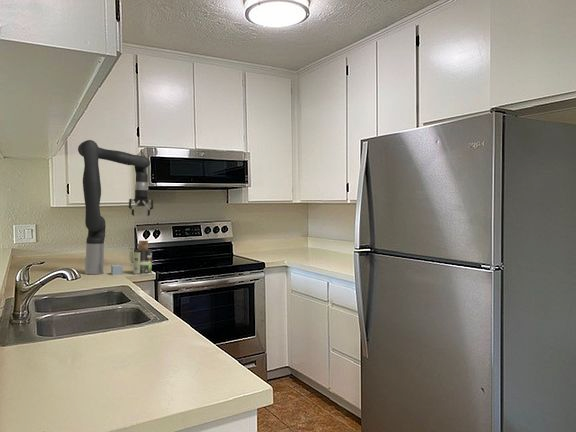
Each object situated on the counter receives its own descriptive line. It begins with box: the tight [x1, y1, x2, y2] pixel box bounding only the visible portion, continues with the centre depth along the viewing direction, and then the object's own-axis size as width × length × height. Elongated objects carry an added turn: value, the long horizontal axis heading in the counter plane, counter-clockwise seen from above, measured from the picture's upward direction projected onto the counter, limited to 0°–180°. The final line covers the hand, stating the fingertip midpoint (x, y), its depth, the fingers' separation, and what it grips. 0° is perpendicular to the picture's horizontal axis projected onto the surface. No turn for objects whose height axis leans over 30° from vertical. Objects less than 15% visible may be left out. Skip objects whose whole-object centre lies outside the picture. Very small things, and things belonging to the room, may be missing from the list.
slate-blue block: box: [110, 264, 123, 276], centre depth 245 cm, size 5×5×5 cm
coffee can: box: [132, 248, 153, 276], centre depth 249 cm, size 10×10×14 cm
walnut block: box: [138, 240, 149, 250], centre depth 249 cm, size 5×5×5 cm
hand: (140, 216), depth 263 cm, fingers open, 8 cm apart
